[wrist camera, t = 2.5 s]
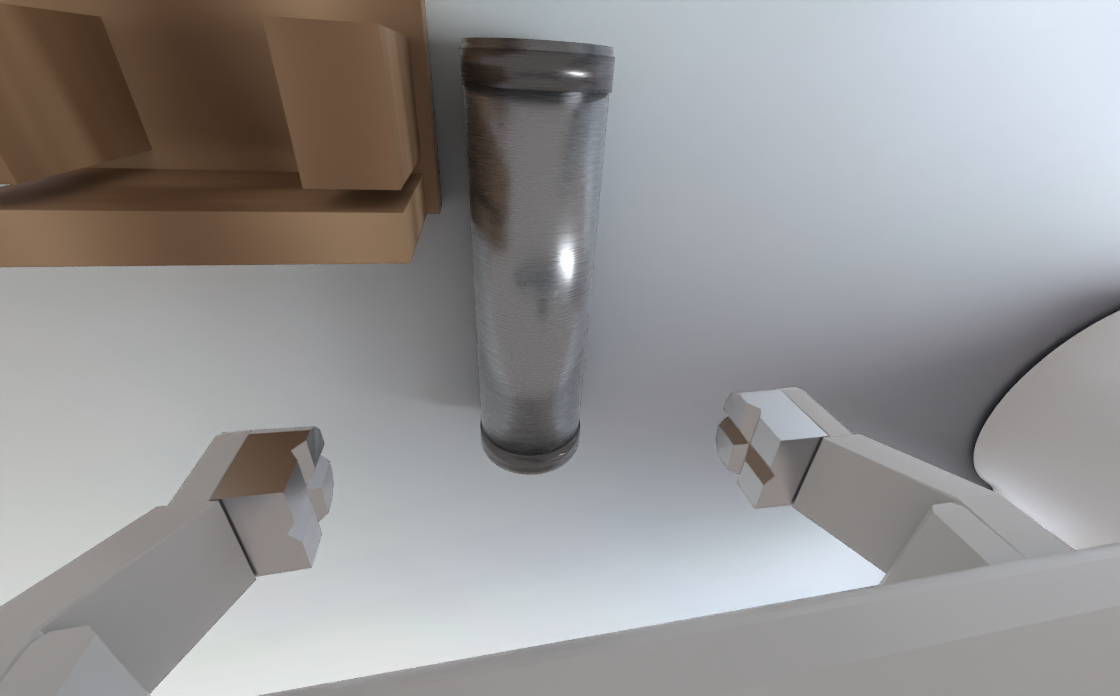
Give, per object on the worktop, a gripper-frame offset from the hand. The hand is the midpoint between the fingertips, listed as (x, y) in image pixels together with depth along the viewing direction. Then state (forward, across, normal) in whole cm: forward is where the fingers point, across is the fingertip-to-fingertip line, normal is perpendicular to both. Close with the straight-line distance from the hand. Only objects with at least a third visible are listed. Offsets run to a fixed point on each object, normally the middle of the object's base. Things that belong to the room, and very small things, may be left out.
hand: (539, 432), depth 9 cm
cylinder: (+10, -1, 0) cm, 10 cm away
